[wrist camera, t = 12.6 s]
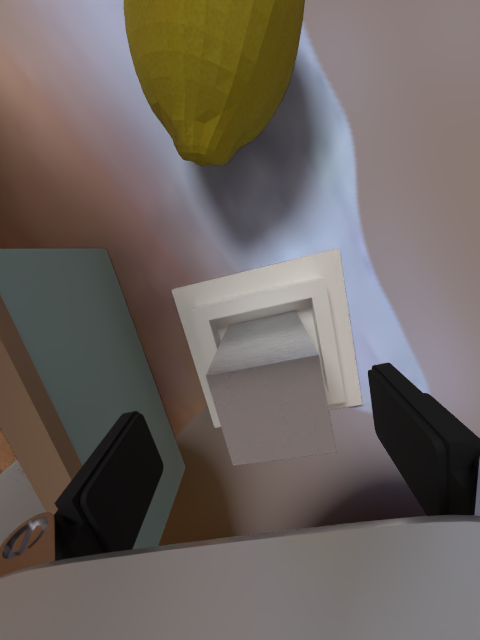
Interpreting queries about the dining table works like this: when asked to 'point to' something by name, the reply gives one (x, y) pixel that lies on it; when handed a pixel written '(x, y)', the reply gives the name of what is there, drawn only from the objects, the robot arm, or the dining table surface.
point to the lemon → (213, 68)
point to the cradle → (271, 299)
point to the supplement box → (16, 500)
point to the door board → (74, 373)
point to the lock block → (270, 391)
